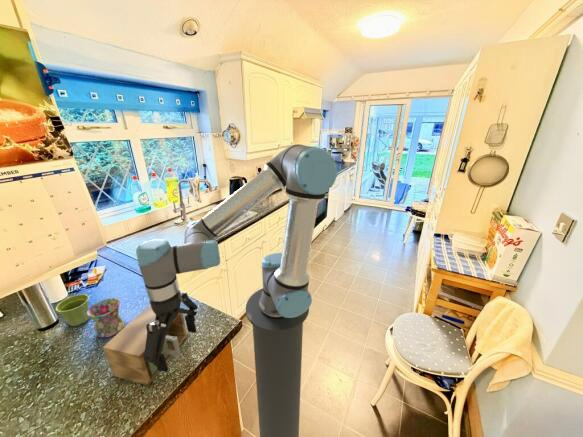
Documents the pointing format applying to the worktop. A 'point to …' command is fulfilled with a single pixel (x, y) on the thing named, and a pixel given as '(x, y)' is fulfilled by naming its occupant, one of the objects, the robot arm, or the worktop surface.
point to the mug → (106, 317)
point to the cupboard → (138, 347)
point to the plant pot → (74, 309)
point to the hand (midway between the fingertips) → (179, 349)
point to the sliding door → (166, 352)
